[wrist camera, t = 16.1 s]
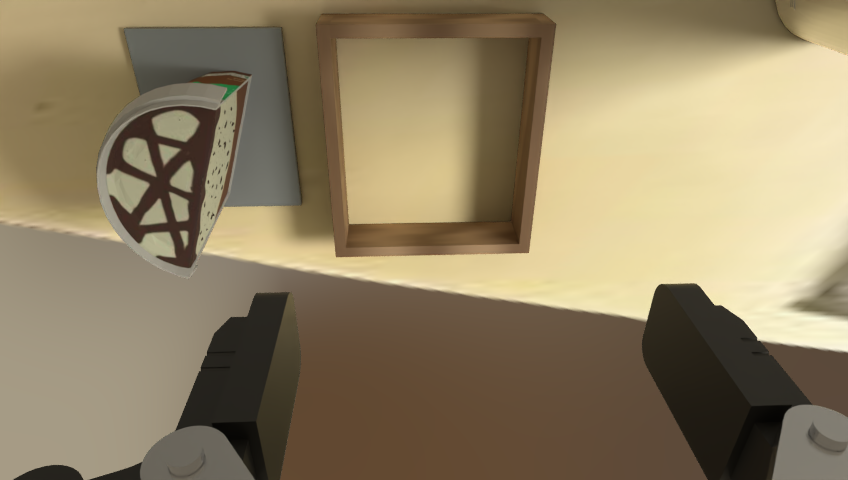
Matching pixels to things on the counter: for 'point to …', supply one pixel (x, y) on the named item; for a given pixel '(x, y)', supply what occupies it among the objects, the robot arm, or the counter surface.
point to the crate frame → (537, 75)
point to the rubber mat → (266, 106)
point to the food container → (173, 167)
